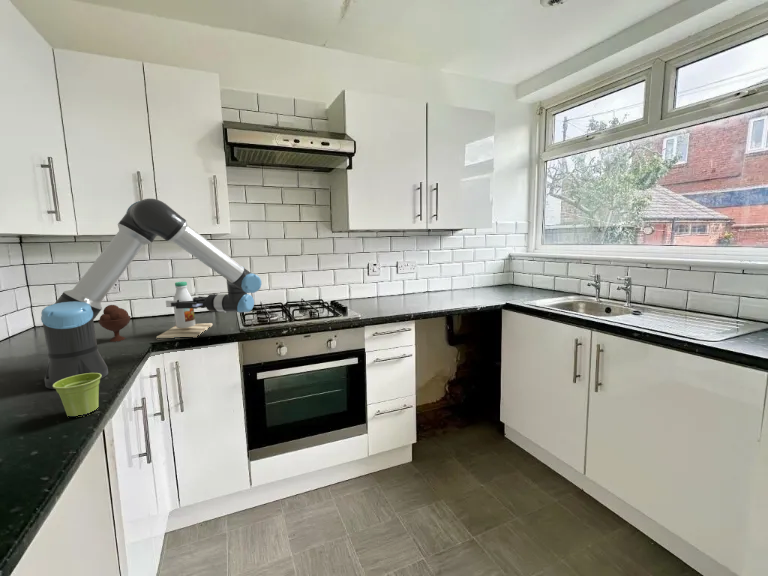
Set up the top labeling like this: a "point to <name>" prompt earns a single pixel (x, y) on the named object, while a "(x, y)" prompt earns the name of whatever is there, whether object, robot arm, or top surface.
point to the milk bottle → (185, 315)
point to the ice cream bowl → (114, 320)
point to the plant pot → (79, 393)
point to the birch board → (185, 331)
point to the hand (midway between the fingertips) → (173, 302)
